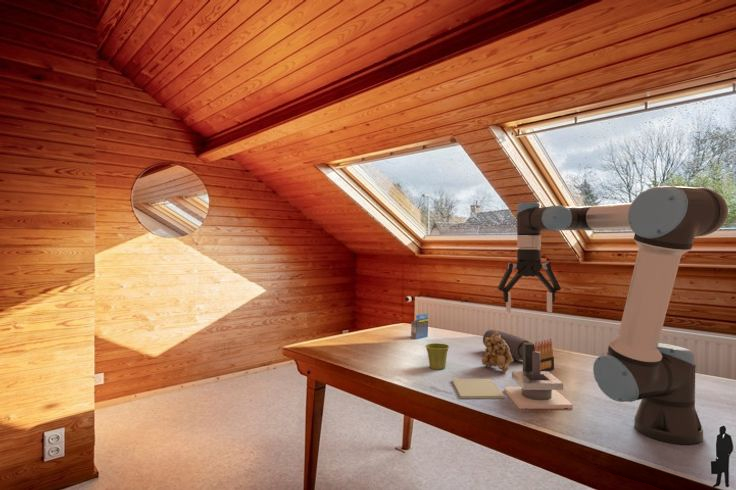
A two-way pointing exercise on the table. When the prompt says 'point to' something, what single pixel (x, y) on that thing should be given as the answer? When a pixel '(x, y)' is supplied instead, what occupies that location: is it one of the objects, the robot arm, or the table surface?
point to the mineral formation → (497, 353)
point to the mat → (477, 388)
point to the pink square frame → (525, 376)
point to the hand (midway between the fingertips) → (528, 311)
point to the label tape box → (419, 327)
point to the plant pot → (437, 355)
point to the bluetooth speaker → (509, 343)
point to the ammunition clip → (545, 355)
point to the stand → (537, 393)
